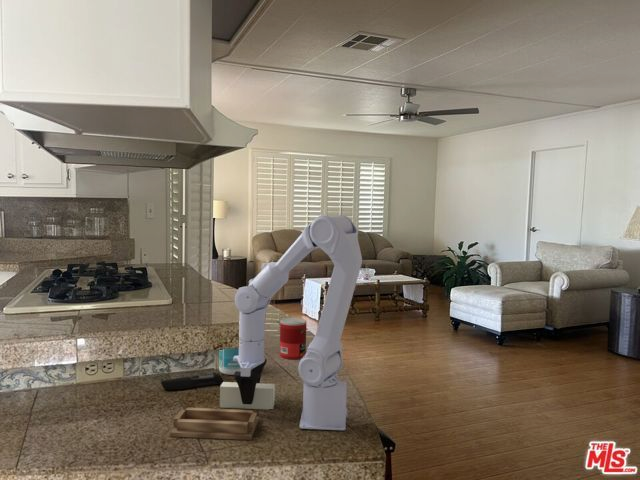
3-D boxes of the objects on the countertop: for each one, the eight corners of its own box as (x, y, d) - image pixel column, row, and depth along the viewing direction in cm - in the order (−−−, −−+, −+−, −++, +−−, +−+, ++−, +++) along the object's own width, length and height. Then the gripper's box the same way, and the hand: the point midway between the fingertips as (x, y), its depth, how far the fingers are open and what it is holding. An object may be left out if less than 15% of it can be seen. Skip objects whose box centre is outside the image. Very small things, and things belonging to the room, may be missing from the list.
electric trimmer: (159, 390, 124) (159, 377, 124) (220, 381, 131) (220, 369, 131) (161, 395, 121) (161, 382, 121) (224, 385, 128) (224, 373, 128)
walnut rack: (258, 420, 107) (258, 408, 107) (250, 440, 98) (251, 427, 98) (184, 417, 108) (184, 405, 108) (170, 436, 99) (170, 423, 99)
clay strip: (274, 405, 116) (274, 383, 116) (272, 410, 113) (273, 388, 113) (222, 403, 117) (223, 381, 116) (219, 408, 114) (220, 386, 113)
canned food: (305, 360, 150) (306, 323, 149) (278, 359, 150) (279, 323, 149) (306, 352, 157) (307, 318, 157) (280, 351, 157) (281, 317, 157)
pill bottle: (252, 370, 139) (252, 322, 138) (233, 377, 133) (234, 327, 132) (231, 365, 143) (232, 318, 142) (213, 372, 137) (213, 323, 136)
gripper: (240, 329, 121) (239, 384, 122) (227, 346, 107) (225, 409, 108) (269, 330, 121) (268, 386, 122) (260, 348, 106) (258, 410, 107)
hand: (250, 397), depth 115 cm, fingers open, 7 cm apart
